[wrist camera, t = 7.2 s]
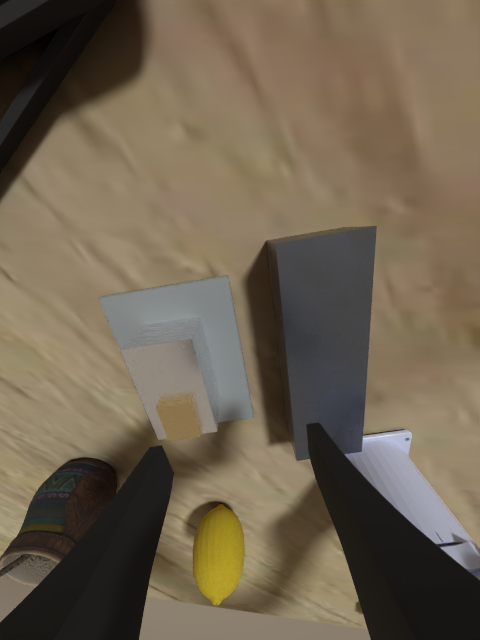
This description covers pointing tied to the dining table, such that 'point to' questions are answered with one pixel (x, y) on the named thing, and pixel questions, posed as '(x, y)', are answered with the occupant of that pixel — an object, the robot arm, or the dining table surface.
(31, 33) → the stack of dark trays
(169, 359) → the pale grey block
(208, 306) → the mat
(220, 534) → the lemon
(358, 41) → the dining table surface
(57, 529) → the mate gourd
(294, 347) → the body
